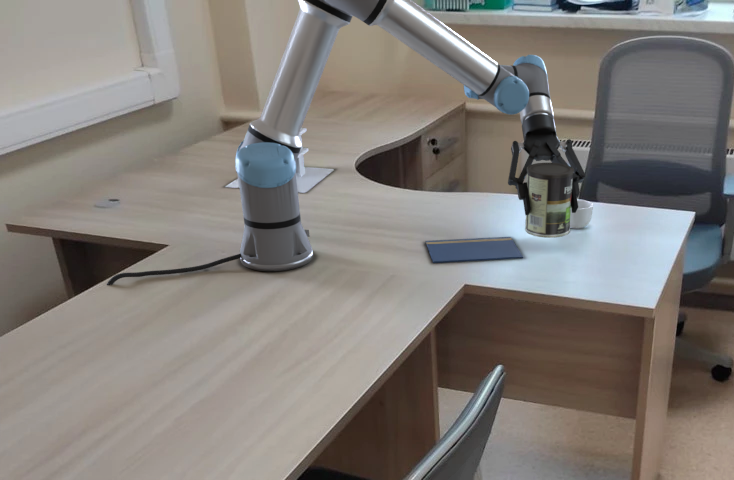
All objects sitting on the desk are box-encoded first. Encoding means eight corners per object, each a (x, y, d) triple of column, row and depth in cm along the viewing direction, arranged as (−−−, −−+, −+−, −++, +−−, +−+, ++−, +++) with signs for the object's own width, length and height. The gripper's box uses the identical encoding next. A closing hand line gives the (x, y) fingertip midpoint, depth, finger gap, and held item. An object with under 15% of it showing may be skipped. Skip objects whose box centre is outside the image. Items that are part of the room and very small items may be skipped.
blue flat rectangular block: (433, 263, 182) (433, 261, 182) (425, 242, 193) (425, 240, 193) (523, 258, 186) (523, 256, 186) (510, 238, 197) (510, 236, 197)
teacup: (592, 231, 202) (594, 209, 200) (560, 230, 202) (561, 208, 200) (589, 218, 211) (591, 197, 208) (559, 217, 211) (560, 196, 208)
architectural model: (335, 169, 244) (330, 104, 235) (305, 192, 223) (298, 123, 214) (260, 164, 247) (252, 100, 238) (224, 186, 226) (214, 118, 217)
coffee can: (572, 225, 194) (576, 163, 187) (566, 240, 186) (570, 176, 178) (528, 221, 196) (531, 160, 189) (520, 235, 187) (522, 172, 180)
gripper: (581, 129, 196) (596, 216, 191) (486, 132, 192) (498, 221, 187) (589, 111, 189) (605, 200, 184) (491, 113, 185) (504, 205, 180)
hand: (551, 211), depth 186 cm, fingers closed on coffee can, 10 cm apart
